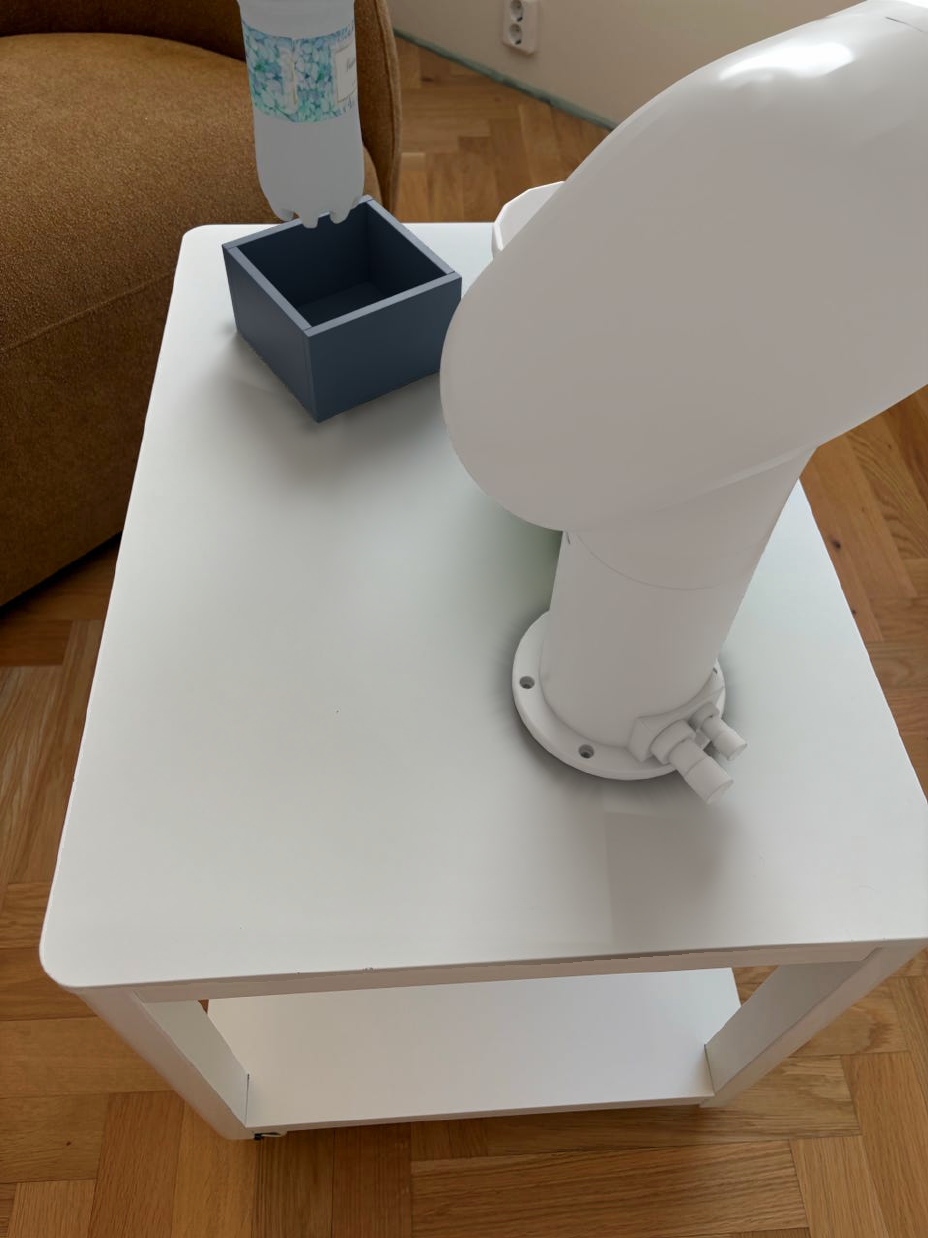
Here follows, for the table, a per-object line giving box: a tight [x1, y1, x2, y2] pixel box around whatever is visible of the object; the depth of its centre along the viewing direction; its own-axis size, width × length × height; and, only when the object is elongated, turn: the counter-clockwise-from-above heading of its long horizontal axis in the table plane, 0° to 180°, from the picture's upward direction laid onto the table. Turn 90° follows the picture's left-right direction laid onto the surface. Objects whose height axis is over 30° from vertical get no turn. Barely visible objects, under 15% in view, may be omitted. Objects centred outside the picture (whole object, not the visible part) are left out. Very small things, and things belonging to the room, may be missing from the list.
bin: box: [221, 194, 463, 423], centre depth 75 cm, size 13×13×8 cm
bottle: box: [236, 0, 365, 228], centre depth 53 cm, size 7×7×20 cm
